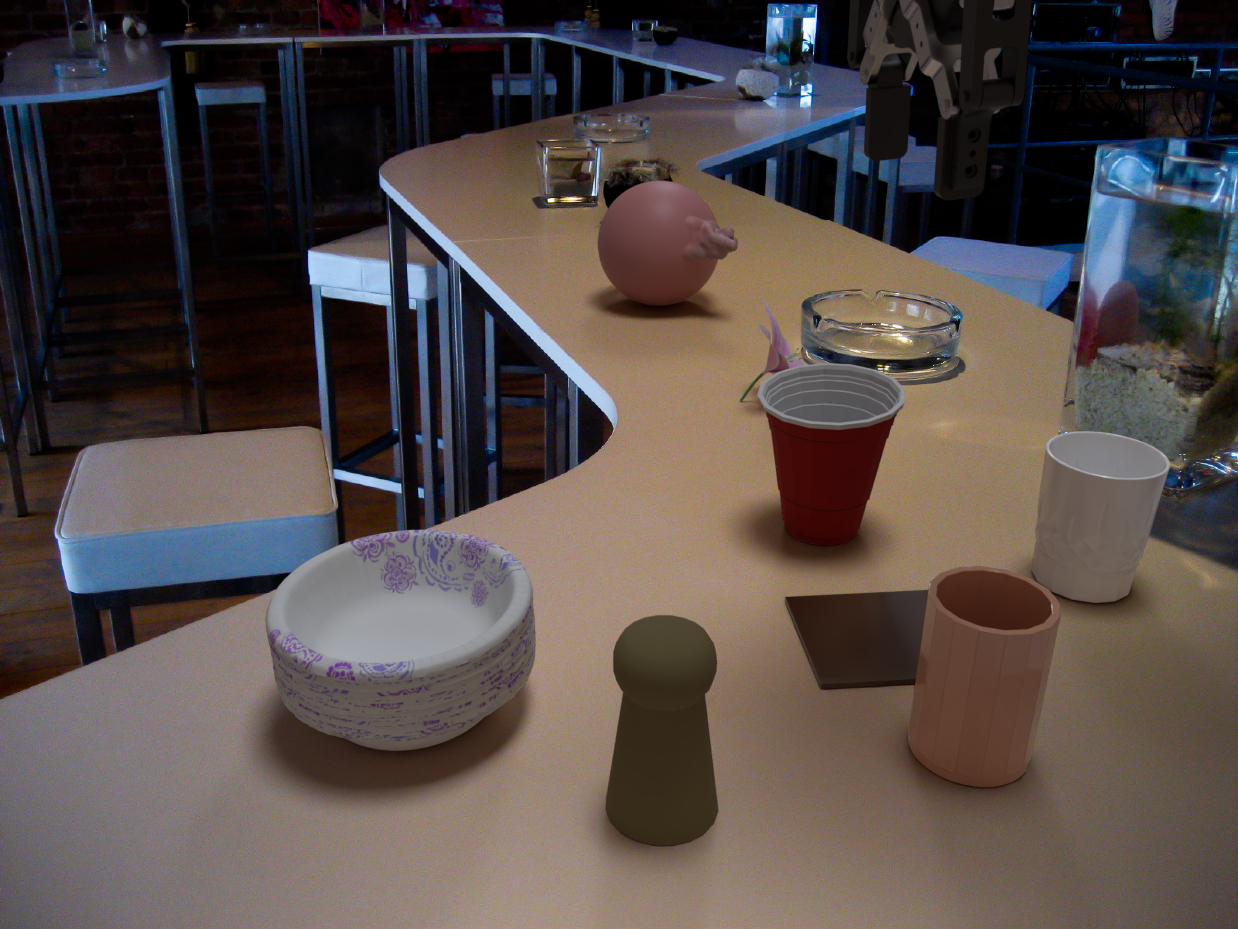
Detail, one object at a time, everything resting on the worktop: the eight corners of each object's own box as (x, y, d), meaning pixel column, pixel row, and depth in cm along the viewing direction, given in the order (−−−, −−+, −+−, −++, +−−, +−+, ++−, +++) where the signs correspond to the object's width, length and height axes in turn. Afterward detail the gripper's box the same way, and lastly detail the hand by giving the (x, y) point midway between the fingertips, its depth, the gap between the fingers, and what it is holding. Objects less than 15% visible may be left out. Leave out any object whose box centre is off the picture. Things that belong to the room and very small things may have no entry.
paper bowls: (251, 791, 59) (228, 671, 55) (315, 631, 73) (300, 527, 69) (531, 786, 59) (526, 667, 56) (543, 628, 73) (539, 524, 69)
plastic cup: (721, 526, 86) (727, 384, 81) (809, 485, 92) (820, 351, 87) (830, 580, 78) (844, 428, 73) (917, 532, 85) (936, 389, 80)
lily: (776, 446, 102) (834, 361, 99) (683, 375, 106) (735, 291, 103) (817, 439, 112) (870, 362, 109) (731, 374, 116) (780, 298, 113)
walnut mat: (978, 591, 77) (979, 587, 77) (1040, 677, 68) (1041, 671, 68) (784, 601, 76) (785, 596, 76) (821, 689, 67) (821, 683, 67)
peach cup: (1000, 707, 65) (1027, 563, 61) (1050, 784, 59) (1083, 631, 55) (892, 713, 65) (911, 568, 61) (930, 791, 59) (955, 637, 55)
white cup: (1035, 542, 83) (1058, 422, 79) (1147, 569, 80) (1176, 445, 75) (1012, 589, 77) (1035, 462, 73) (1131, 620, 74) (1162, 489, 69)
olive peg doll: (581, 803, 58) (578, 631, 53) (659, 750, 62) (663, 585, 57) (664, 864, 54) (668, 685, 49) (741, 804, 58) (752, 632, 53)
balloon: (685, 339, 127) (688, 206, 120) (573, 302, 140) (571, 181, 133) (770, 311, 136) (778, 187, 130) (658, 279, 149) (660, 165, 143)
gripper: (1119, -217, 41) (1064, 203, 49) (949, -194, 54) (927, 139, 62) (934, -204, 40) (908, 223, 48) (805, -183, 53) (800, 154, 61)
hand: (919, 176), depth 55 cm, fingers open, 8 cm apart
